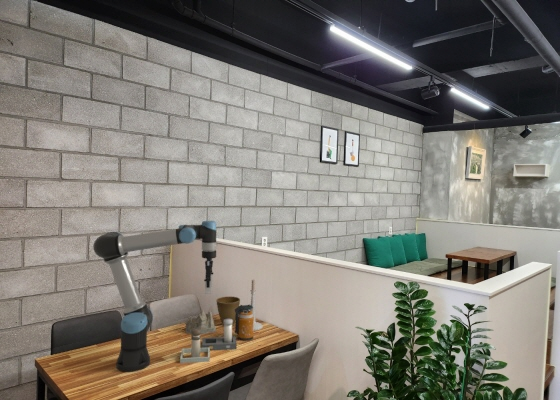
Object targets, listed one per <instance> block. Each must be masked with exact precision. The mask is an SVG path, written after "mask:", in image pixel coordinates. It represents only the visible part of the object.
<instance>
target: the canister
mask: <svg viewBox="0 0 560 400" xmlns="http://www.w3.org/2000/svg"><path fill="white" fill-rule="evenodd" d="M251 308H253V306H251V304H245V305H243V304H239V307H237V308H236V309H235V313H236V315H235V319H236V320H235V323H234V325H235V327H234V328H235V330H234V331H233V332H234V333H235V334H237V340H239V341H242V342H247V341H251V340H253V339H254V331H253V329H254V317H253V313H252V311H250V310H251Z"/></svg>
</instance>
